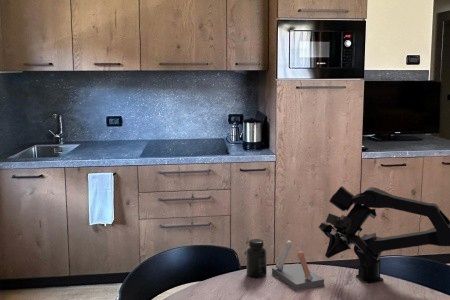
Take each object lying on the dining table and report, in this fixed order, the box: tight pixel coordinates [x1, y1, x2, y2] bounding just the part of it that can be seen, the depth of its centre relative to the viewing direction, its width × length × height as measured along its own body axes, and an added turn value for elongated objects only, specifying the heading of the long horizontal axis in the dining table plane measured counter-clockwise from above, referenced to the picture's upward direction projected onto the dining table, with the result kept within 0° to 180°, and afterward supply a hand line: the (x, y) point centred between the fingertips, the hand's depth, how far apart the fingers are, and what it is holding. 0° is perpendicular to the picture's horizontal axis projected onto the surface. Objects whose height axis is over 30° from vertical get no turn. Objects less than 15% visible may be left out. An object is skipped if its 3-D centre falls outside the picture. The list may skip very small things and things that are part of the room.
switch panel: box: [271, 263, 325, 292], centre depth 153 cm, size 10×16×2 cm
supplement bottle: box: [245, 238, 268, 279], centre depth 156 cm, size 7×7×12 cm
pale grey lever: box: [275, 240, 293, 270], centre depth 156 cm, size 2×2×10 cm
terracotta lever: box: [296, 251, 313, 281], centre depth 146 cm, size 2×2×10 cm
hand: (326, 257), depth 149 cm, fingers closed
